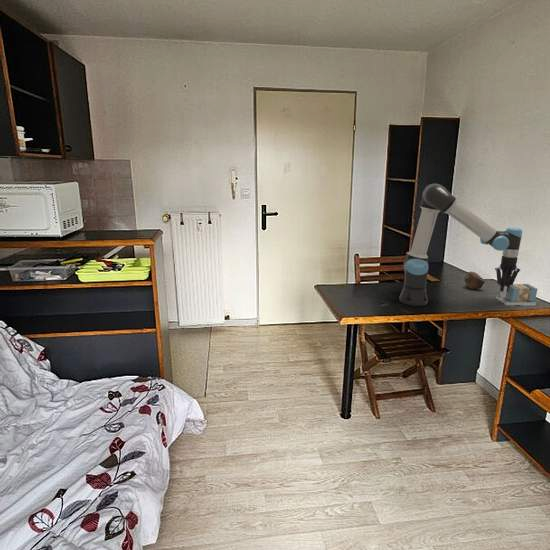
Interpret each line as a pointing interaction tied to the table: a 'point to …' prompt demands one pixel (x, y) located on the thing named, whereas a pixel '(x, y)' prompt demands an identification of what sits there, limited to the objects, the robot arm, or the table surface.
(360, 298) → the table surface
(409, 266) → the robot arm
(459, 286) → the table surface
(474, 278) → the rock
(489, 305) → the table surface
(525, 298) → the block
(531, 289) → the vise
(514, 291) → the jaw
